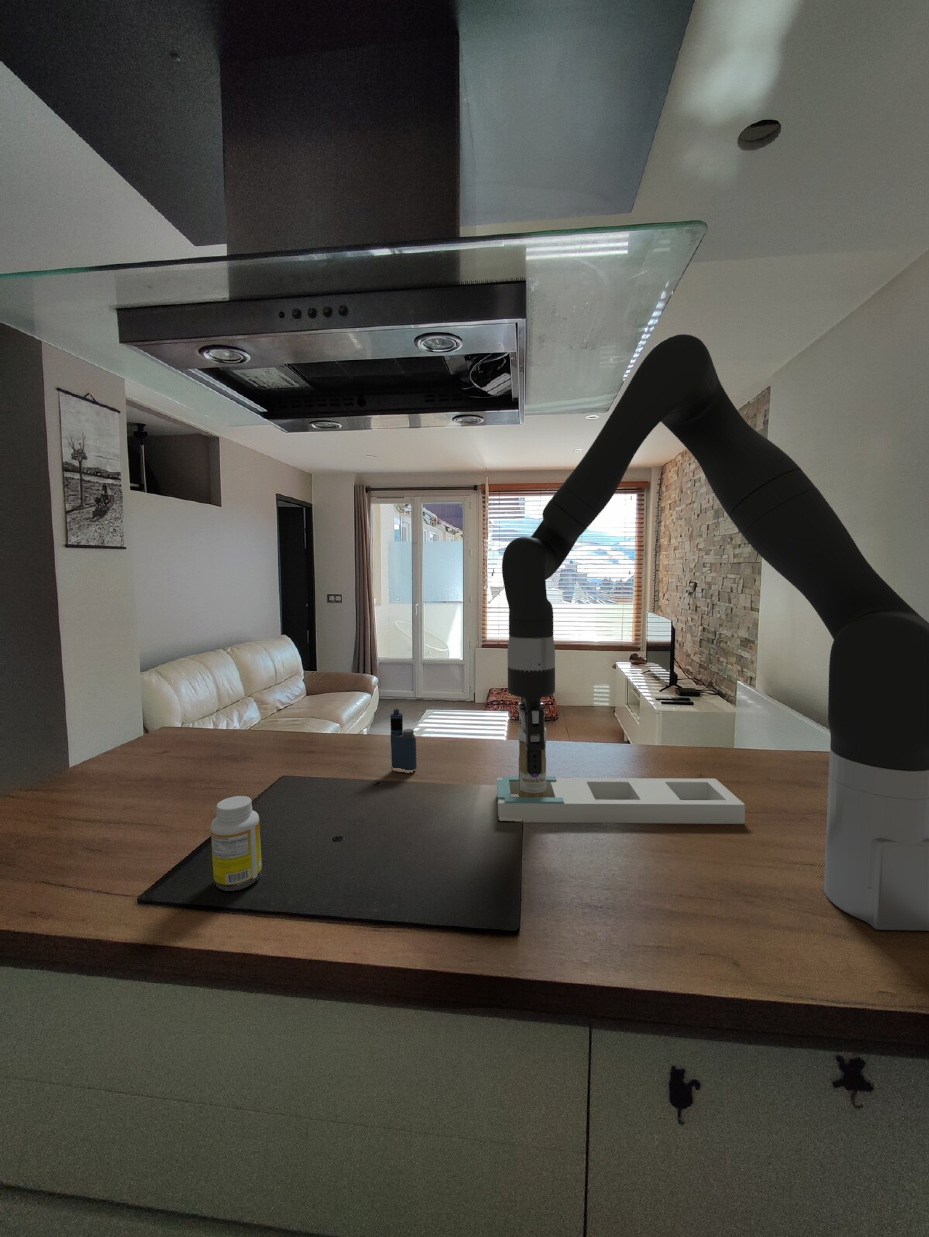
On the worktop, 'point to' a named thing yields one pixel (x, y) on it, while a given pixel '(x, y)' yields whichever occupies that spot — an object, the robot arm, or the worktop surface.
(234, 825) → the supplement bottle
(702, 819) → the rail
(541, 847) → the worktop surface
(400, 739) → the vaping device
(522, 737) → the sprinkles bottle
